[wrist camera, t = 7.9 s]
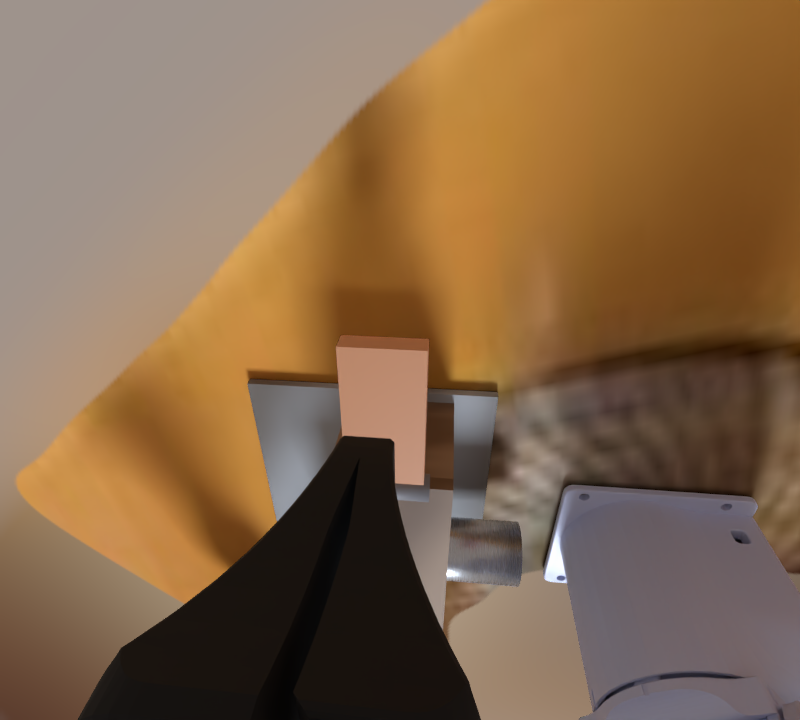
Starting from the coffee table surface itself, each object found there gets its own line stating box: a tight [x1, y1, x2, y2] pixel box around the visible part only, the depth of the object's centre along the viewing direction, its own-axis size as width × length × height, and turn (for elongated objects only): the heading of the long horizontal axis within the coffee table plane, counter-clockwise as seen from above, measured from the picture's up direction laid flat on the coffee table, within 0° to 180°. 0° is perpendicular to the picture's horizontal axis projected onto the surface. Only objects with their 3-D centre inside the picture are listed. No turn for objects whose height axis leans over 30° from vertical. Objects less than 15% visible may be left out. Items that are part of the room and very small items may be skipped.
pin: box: [447, 517, 522, 587], centre depth 25 cm, size 10×4×4 cm, turn 91°
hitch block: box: [248, 379, 498, 630], centre depth 25 cm, size 12×12×6 cm
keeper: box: [336, 335, 430, 502], centre depth 17 cm, size 3×6×1 cm, turn 1°
